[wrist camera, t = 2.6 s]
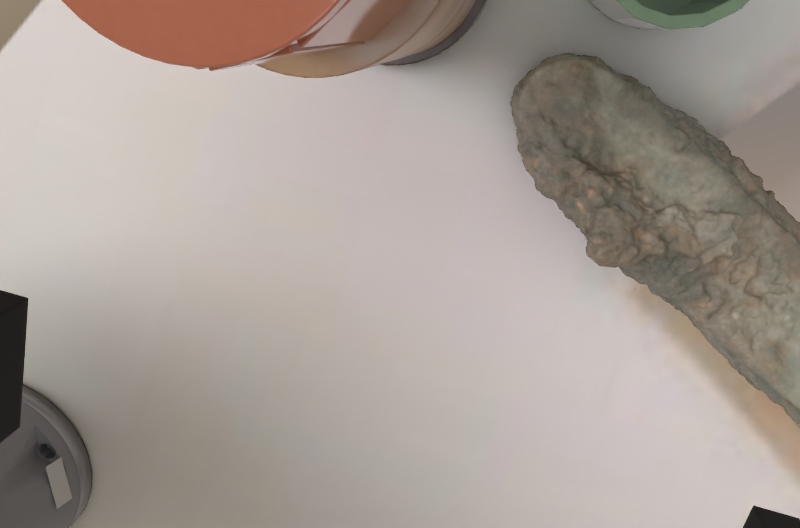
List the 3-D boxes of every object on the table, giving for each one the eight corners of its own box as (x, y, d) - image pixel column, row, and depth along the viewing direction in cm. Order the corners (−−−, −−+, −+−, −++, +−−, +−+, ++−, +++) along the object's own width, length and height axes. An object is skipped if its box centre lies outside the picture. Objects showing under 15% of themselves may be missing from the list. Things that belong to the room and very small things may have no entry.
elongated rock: (832, 470, 51) (955, 376, 49) (873, 518, 46) (1013, 417, 44) (466, 136, 46) (580, 10, 43) (467, 149, 41) (597, 8, 38)
